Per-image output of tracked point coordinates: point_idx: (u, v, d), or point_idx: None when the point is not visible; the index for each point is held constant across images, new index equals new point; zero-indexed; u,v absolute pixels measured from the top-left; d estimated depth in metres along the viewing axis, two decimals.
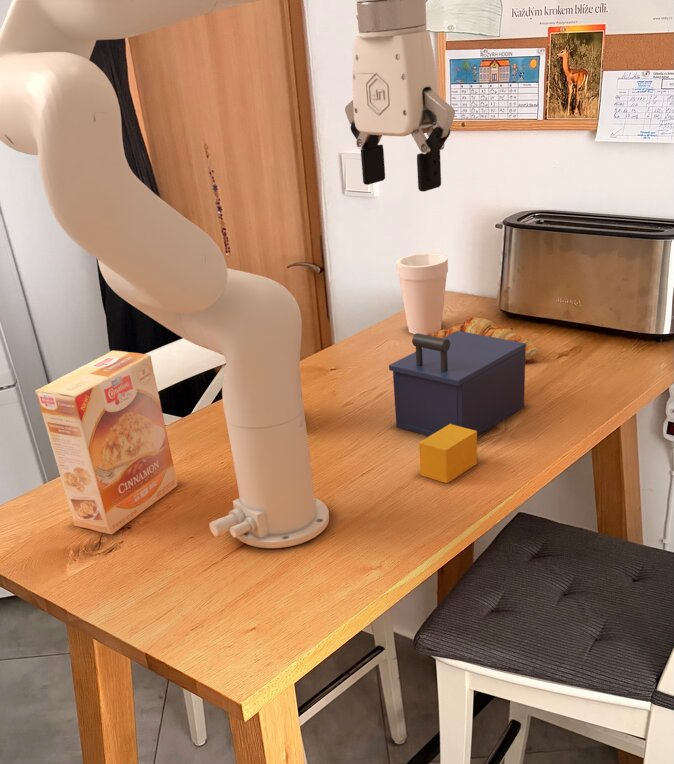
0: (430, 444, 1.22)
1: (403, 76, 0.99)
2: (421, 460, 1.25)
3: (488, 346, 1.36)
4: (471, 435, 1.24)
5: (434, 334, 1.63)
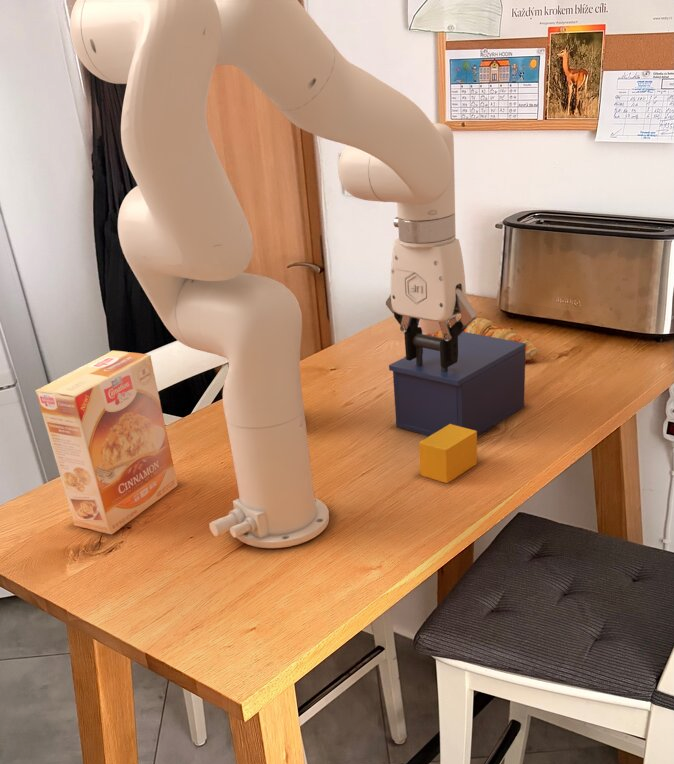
0: (430, 444, 1.22)
1: (440, 278, 1.20)
2: (421, 460, 1.25)
3: (488, 346, 1.36)
4: (471, 435, 1.24)
5: (434, 334, 1.63)
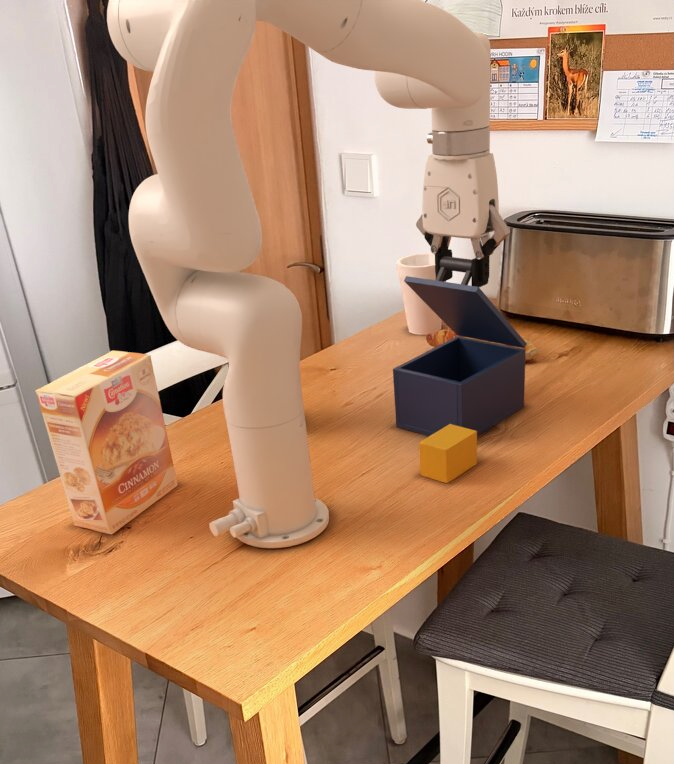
0: (430, 444, 1.22)
1: (474, 191, 1.19)
2: (421, 460, 1.25)
3: None
4: (471, 435, 1.24)
5: (434, 334, 1.63)
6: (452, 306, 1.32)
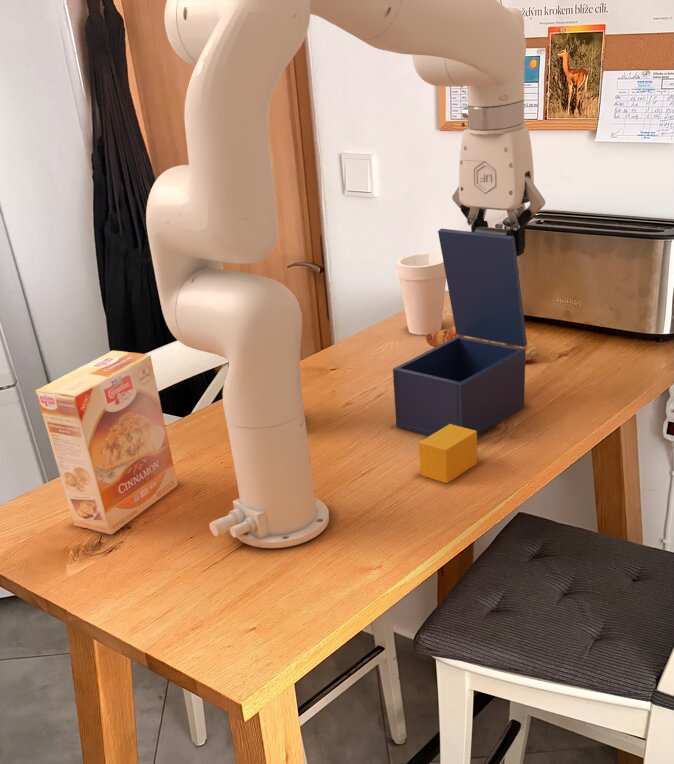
0: (430, 444, 1.22)
1: (511, 164, 1.23)
2: (421, 460, 1.25)
3: None
4: (471, 435, 1.24)
5: (434, 334, 1.63)
6: (473, 273, 1.33)
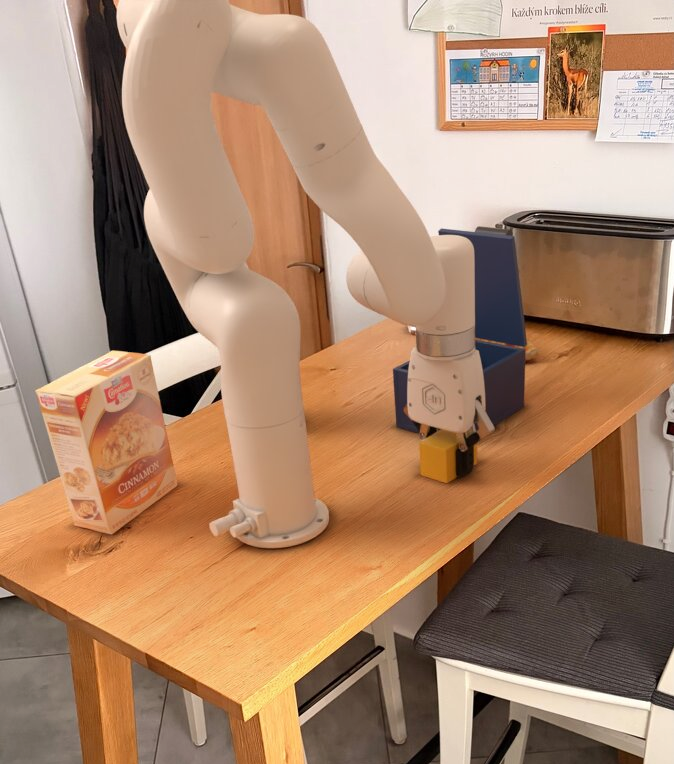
0: (430, 444, 1.22)
1: (460, 391, 1.15)
2: (421, 460, 1.25)
3: None
4: None
5: None
6: None
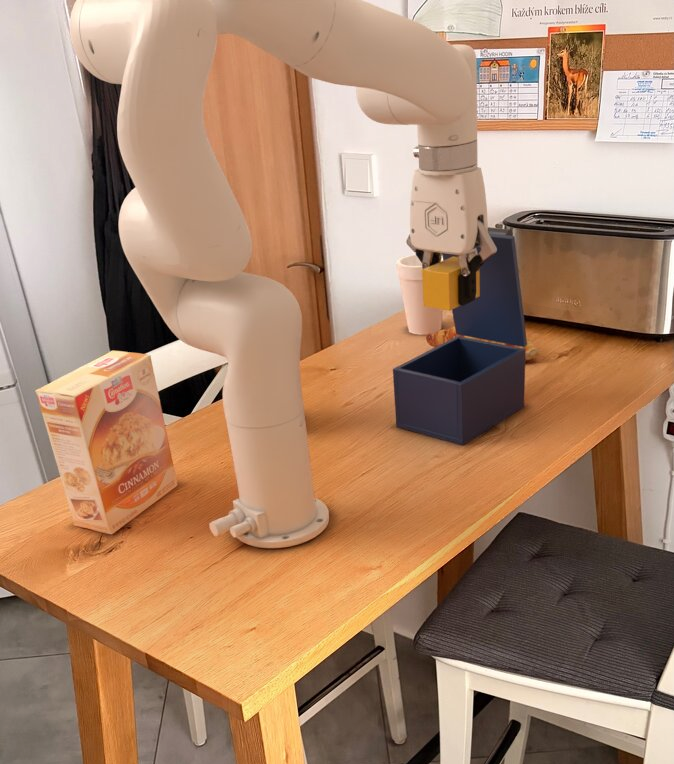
0: (433, 270, 1.23)
1: (462, 207, 1.16)
2: (424, 289, 1.25)
3: None
4: None
5: (434, 334, 1.63)
6: None
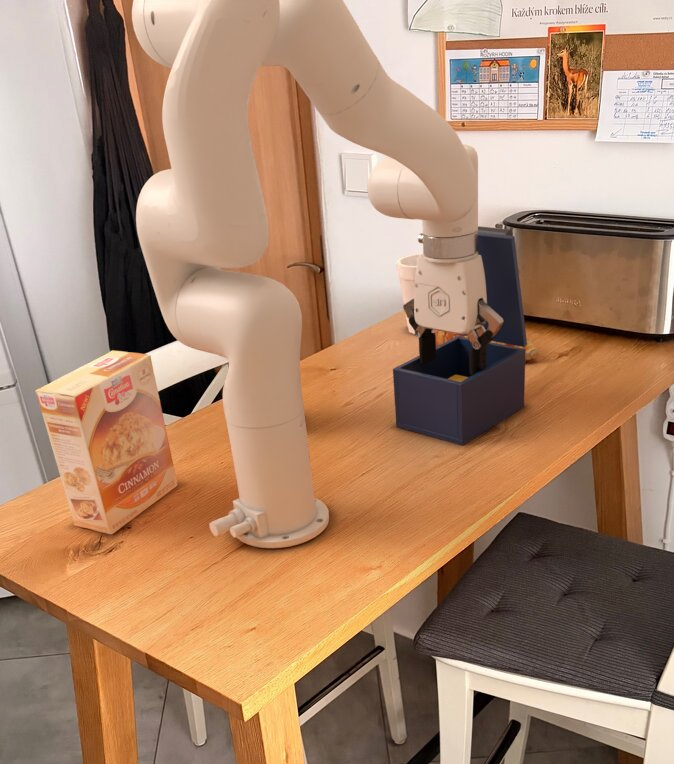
0: None
1: (463, 292, 1.24)
2: None
3: None
4: None
5: None
6: None
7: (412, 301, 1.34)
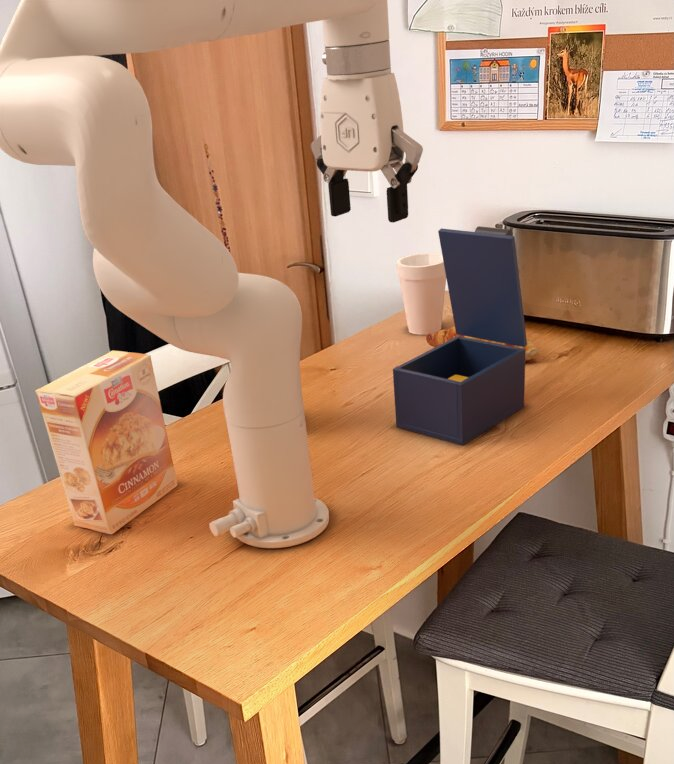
0: None
1: (373, 116, 1.05)
2: None
3: None
4: None
5: (434, 334, 1.63)
6: (473, 273, 1.33)
7: (320, 138, 1.14)
